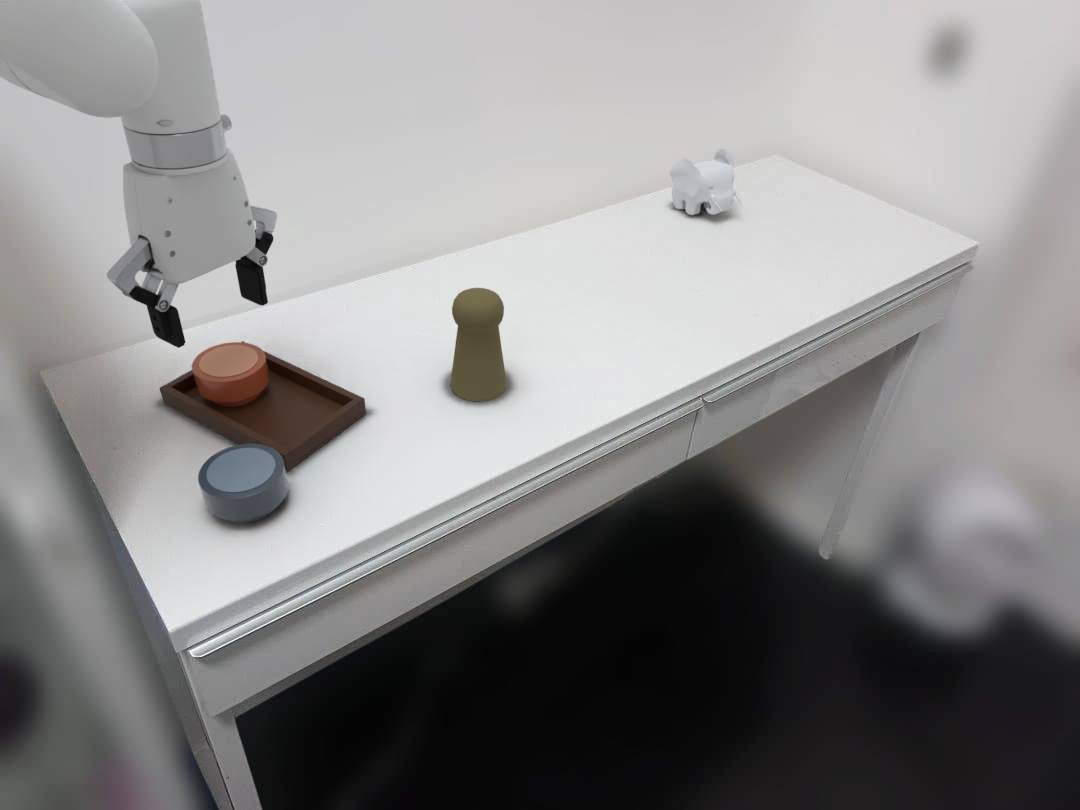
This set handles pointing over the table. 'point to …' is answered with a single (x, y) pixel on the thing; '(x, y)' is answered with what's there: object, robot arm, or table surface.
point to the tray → (274, 411)
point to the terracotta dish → (231, 373)
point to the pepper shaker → (478, 346)
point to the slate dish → (243, 482)
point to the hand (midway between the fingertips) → (215, 320)
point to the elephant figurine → (704, 184)
